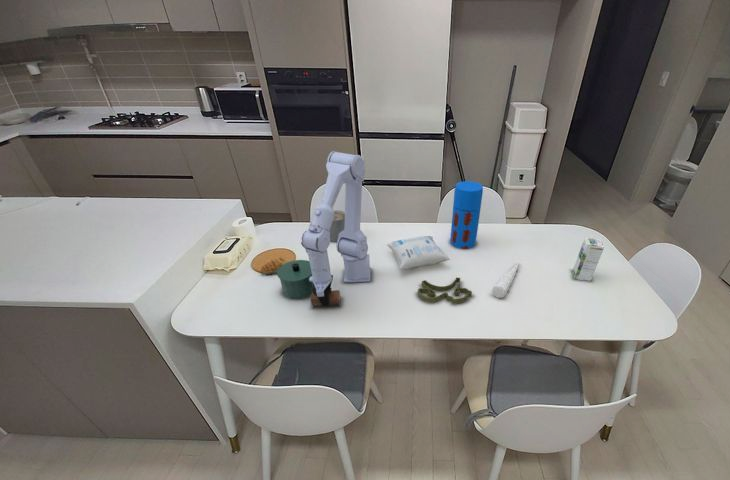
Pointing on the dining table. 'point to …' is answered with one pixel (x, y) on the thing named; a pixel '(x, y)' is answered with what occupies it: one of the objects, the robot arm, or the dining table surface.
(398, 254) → the pouch
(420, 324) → the dining table surface
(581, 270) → the syrup box
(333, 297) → the brown rectangular block
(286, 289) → the pot
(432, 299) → the cookie cutter
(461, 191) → the thermos
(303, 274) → the pot lid
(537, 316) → the dining table surface
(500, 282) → the unicorn horn
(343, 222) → the coffee mug
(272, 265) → the pastry
